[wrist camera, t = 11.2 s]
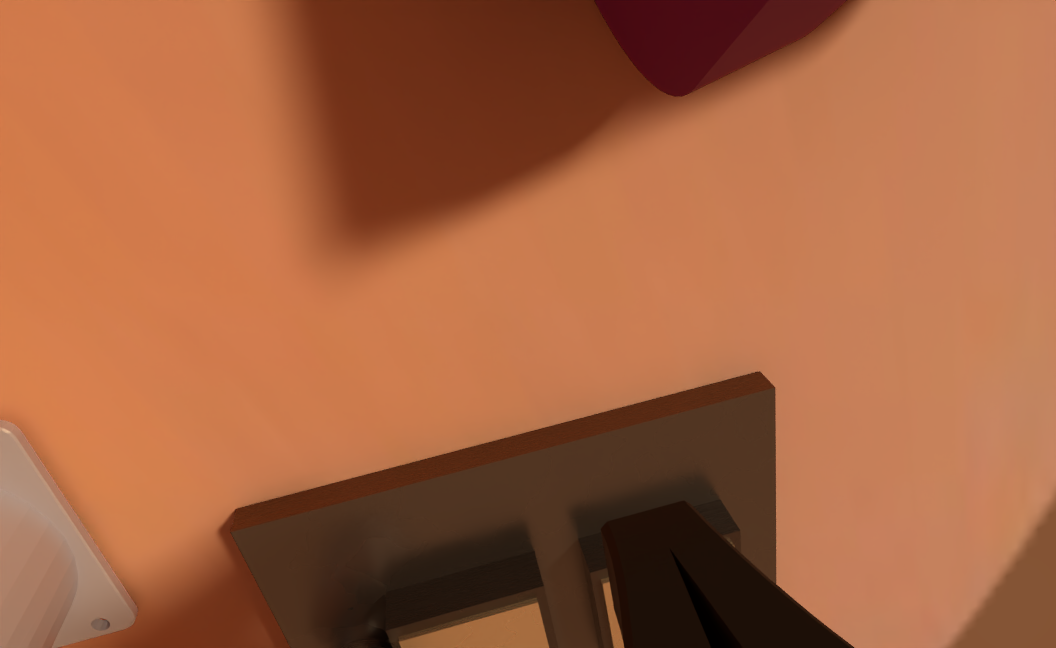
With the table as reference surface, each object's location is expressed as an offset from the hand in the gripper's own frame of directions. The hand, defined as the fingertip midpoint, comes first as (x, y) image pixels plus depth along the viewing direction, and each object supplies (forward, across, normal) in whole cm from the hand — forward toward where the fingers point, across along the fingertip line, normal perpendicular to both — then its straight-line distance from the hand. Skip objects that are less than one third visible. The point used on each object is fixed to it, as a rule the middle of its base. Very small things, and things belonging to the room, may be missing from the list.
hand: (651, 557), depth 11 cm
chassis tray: (+10, +2, +12) cm, 16 cm away
